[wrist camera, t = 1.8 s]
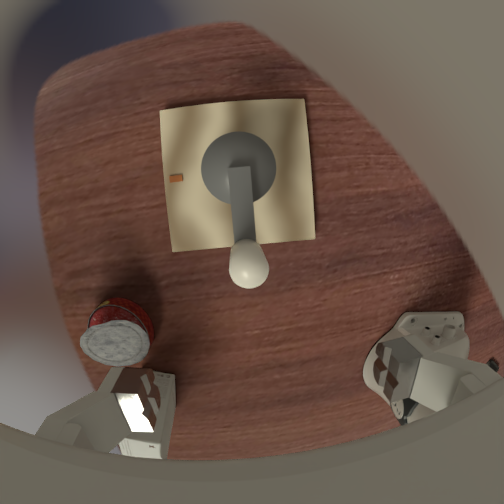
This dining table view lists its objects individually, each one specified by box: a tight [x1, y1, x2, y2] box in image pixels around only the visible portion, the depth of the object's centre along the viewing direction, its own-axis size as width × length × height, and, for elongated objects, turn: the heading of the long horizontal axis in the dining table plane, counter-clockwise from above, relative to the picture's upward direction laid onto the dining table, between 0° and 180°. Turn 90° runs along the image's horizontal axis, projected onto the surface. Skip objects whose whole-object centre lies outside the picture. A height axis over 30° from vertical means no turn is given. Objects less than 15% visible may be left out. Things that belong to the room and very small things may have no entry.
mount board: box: [160, 99, 315, 252], centre depth 32 cm, size 18×18×7 cm
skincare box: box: [119, 371, 176, 459], centre depth 35 cm, size 8×6×15 cm
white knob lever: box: [201, 131, 276, 288], centre depth 25 cm, size 7×13×8 cm, turn 5°
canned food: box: [80, 298, 154, 366], centre depth 36 cm, size 11×10×10 cm
